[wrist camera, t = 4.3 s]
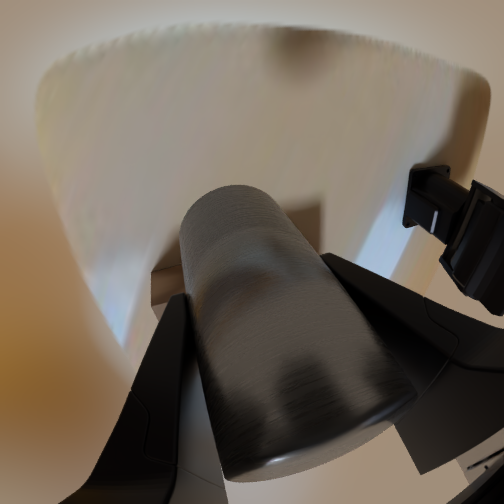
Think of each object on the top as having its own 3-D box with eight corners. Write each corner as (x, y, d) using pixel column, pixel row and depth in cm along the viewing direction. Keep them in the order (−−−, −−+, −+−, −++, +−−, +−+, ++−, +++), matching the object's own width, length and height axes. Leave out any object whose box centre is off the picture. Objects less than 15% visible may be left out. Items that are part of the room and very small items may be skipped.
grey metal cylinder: (280, 174, 10) (449, 357, 3) (286, 263, 12) (386, 434, 6) (166, 200, 9) (196, 460, 3) (193, 288, 12) (241, 489, 5)
